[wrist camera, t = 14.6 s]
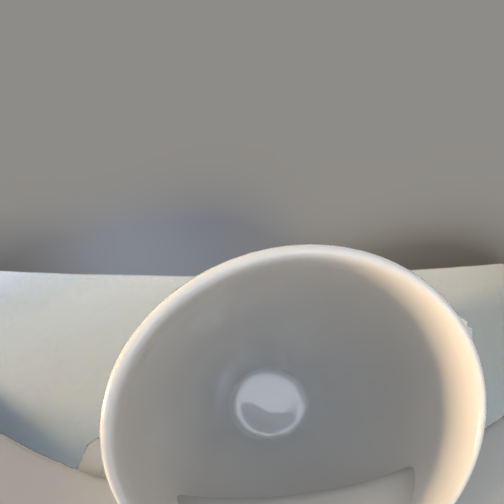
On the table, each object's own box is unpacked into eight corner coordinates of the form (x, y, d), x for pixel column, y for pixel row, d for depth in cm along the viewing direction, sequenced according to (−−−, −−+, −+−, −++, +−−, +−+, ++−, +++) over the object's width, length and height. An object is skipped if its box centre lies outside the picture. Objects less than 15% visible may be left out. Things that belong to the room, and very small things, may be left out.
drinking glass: (286, 336, 18) (366, 183, 5) (336, 415, 15) (521, 436, 2) (198, 383, 17) (41, 343, 3) (248, 465, 14) (234, 625, 1)
